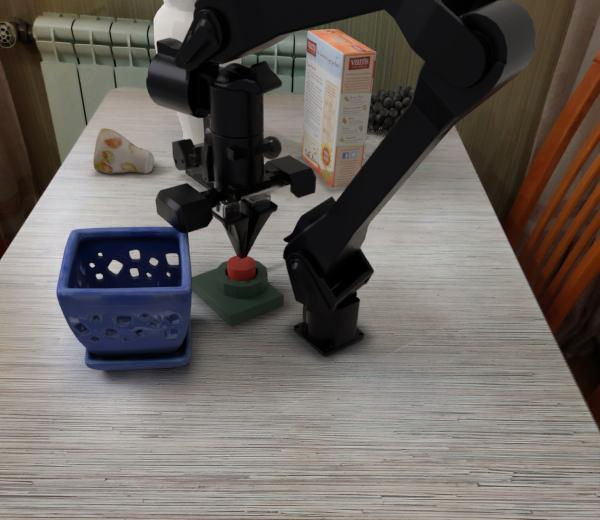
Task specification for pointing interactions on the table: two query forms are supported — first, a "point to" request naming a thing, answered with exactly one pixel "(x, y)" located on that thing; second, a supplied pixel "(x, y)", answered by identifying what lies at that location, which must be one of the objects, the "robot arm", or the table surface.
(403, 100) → the fruit
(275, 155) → the lever
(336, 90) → the cracker box
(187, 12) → the vase
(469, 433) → the table surface
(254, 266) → the button
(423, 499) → the table surface
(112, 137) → the white tapered piece
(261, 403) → the table surface
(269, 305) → the control block
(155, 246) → the flower pot
